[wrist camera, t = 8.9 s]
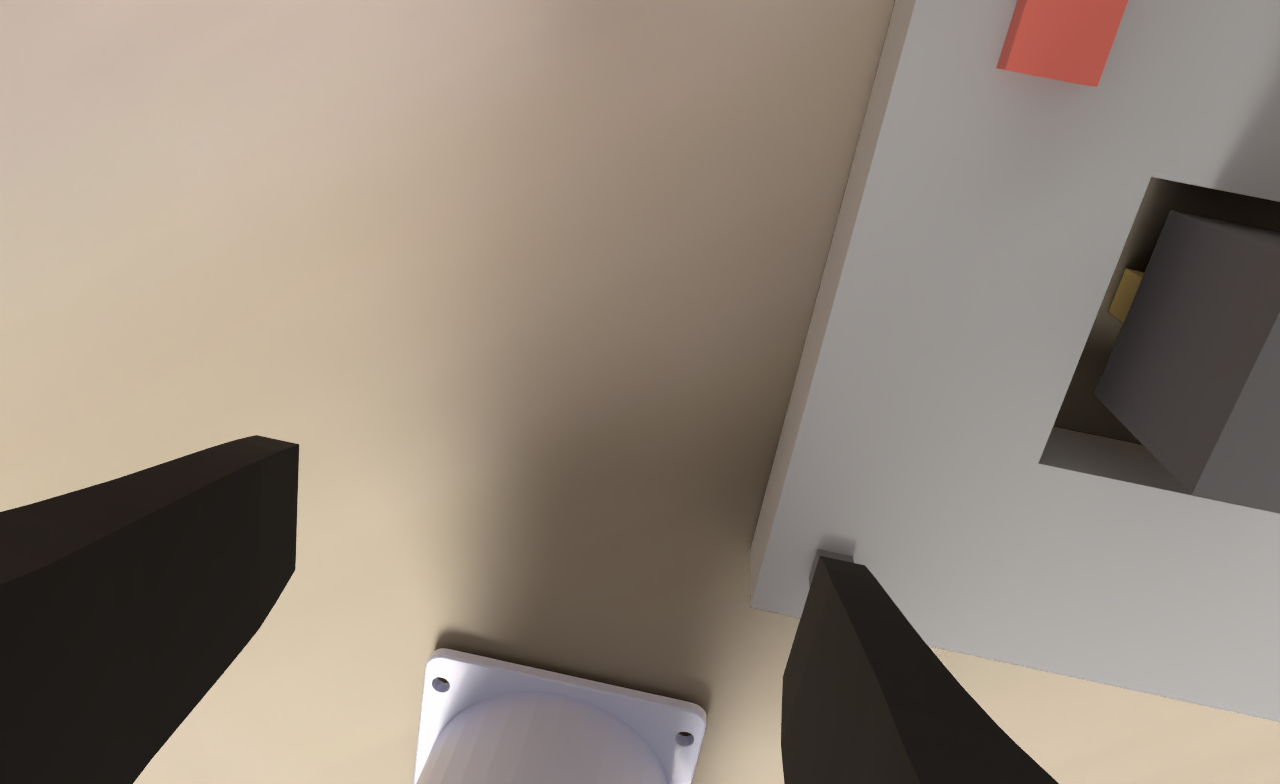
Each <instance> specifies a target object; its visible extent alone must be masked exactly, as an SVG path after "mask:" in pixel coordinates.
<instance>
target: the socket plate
mask: <svg viewBox="0 0 1280 784" xmlns="http://www.w3.org/2000/svg"><path fill="white" fill-rule="evenodd" d="M1151 177H1155V178H1160V179H1165V180H1170V181H1175V182H1181V183H1186V184H1191V185H1196V186H1201V187H1206V188H1211V189H1216V190H1222V191H1227V192H1232V193H1237V194H1242V195H1247V196H1252V197H1258V198H1263V199H1268V200H1273V201H1278V202H1280V0H895V4H894V8H893V12H892V15H891V19H890V23H889V27H888V31H887V34H886V38H885V42H884V46H883V50H882V53H881V57H880V61H879V65H878V68H877V72H876V76H875V80H874V84H873V87H872V91H871V95H870V99H869V102H868V106H867V110H866V114H865V118H864V121H863V125H862V129H861V133H860V137H859V140H858V144H857V148H856V152H855V155H854V159H853V163H852V167H851V171H850V174H849V178H848V182H847V186H846V189H845V193H844V197H843V201H842V205H841V208H840V212H839V216H838V220H837V224H836V227H835V231H834V235H833V239H832V242H831V246H830V250H829V254H828V258H827V261H826V265H825V269H824V273H823V276H822V280H821V284H820V288H819V292H818V295H817V299H816V303H815V307H814V311H813V314H812V318H811V322H810V326H809V329H808V333H807V337H806V341H805V345H804V348H803V352H802V356H801V360H800V363H799V367H798V371H797V375H796V379H795V382H794V386H793V390H792V394H791V397H790V401H789V405H788V409H787V413H786V416H785V420H784V424H783V428H782V432H781V435H780V439H779V443H778V447H777V450H776V454H775V458H774V462H773V466H772V469H771V473H770V477H769V481H768V484H767V488H766V492H765V496H764V500H763V503H762V507H761V511H760V515H759V519H758V522H757V526H756V530H755V534H754V537H753V541H752V545H751V549H750V608H754V609H759V610H764V611H768V612H773V613H778V614H782V615H787V616H791V617H796V618H801V616H802V612H803V609H804V606H805V602H806V599H807V596H808V592H809V589H810V586H811V582H812V579H813V576H814V572H815V569H816V566H817V563H818V559H819V556H824V557H829V558H833V559H838V560H843V561H847V562H852V563H857V564H861V565H865V566H866V567H867V568H868V569H869V571H870V572H871V573H872V574H873V576H874V577H875V578H876V579H877V581H878V582H879V583H880V585H881V586H882V587H883V588H884V590H885V591H886V592H887V594H888V595H889V596H890V598H891V599H892V600H893V602H894V603H895V604H896V606H897V607H898V608H899V609H900V611H901V612H902V613H903V615H904V616H905V617H906V619H907V620H908V621H909V623H910V624H911V625H912V626H913V628H914V629H915V630H916V631H917V633H918V634H919V635H920V637H921V638H922V639H923V640H924V642H925V643H926V644H927V645H928V646H930V647H935V648H939V649H944V650H949V651H953V652H958V653H962V654H967V655H972V656H976V657H981V658H986V659H990V660H995V661H999V662H1004V663H1009V664H1013V665H1018V666H1023V667H1027V668H1032V669H1036V670H1041V671H1046V672H1050V673H1055V674H1060V675H1064V676H1069V677H1073V678H1078V679H1083V680H1087V681H1092V682H1097V683H1101V684H1106V685H1110V686H1115V687H1120V688H1124V689H1129V690H1134V691H1138V692H1143V693H1147V694H1152V695H1157V696H1161V697H1166V698H1171V699H1175V700H1180V701H1184V702H1189V703H1194V704H1198V705H1203V706H1207V707H1212V708H1217V709H1221V710H1226V711H1231V712H1235V713H1240V714H1244V715H1249V716H1254V717H1258V718H1263V719H1268V720H1272V721H1277V722H1280V513H1276V512H1271V511H1266V510H1262V509H1257V508H1252V507H1248V506H1243V505H1238V504H1233V503H1229V502H1224V501H1219V500H1215V499H1210V498H1205V497H1200V496H1196V495H1192V494H1191V493H1190V492H1189V491H1188V490H1187V489H1186V488H1185V487H1184V486H1183V485H1182V484H1181V483H1180V482H1179V481H1178V480H1177V479H1176V478H1175V477H1174V476H1173V475H1172V474H1171V473H1170V472H1169V471H1168V470H1167V469H1166V468H1165V467H1164V466H1163V465H1162V464H1161V463H1160V462H1159V461H1158V460H1157V459H1156V458H1155V457H1154V456H1153V455H1152V454H1151V453H1150V452H1149V450H1148V449H1147V448H1146V447H1145V446H1144V445H1141V444H1136V443H1131V442H1126V441H1121V440H1116V439H1112V438H1107V437H1102V436H1097V435H1092V434H1087V433H1082V432H1078V431H1073V430H1068V429H1063V428H1058V427H1053V425H1054V423H1055V420H1056V418H1057V415H1058V413H1059V410H1060V407H1061V405H1062V402H1063V400H1064V397H1065V395H1066V392H1067V390H1068V387H1069V385H1070V382H1071V380H1072V377H1073V374H1074V372H1075V369H1076V367H1077V364H1078V362H1079V359H1080V357H1081V354H1082V352H1083V349H1084V347H1085V344H1086V341H1087V339H1088V336H1089V334H1090V331H1091V329H1092V326H1093V324H1094V321H1095V319H1096V316H1097V314H1098V311H1099V309H1100V306H1101V303H1102V301H1103V298H1104V296H1105V293H1106V291H1107V288H1108V286H1109V283H1110V281H1111V278H1112V276H1113V273H1114V270H1115V268H1116V265H1117V263H1118V260H1119V258H1120V255H1121V253H1122V250H1123V248H1124V245H1125V243H1126V240H1127V237H1128V235H1129V232H1130V230H1131V227H1132V225H1133V222H1134V220H1135V217H1136V215H1137V212H1138V210H1139V207H1140V204H1141V202H1142V199H1143V197H1144V194H1145V192H1146V189H1147V187H1148V184H1149V182H1150V179H1151Z"/></svg>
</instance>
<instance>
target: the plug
mask: <svg viewBox="0 0 1280 784" xmlns="http://www.w3.org/2000/svg"><path fill="white" fill-rule="evenodd" d="M1108 312H1109V313H1111V314H1112V315H1113V316H1115V317H1116V318H1117V319H1119V320H1120V321H1121V322H1123V326H1122V328H1121V331H1120V333H1119V336H1118V338H1117V340H1116V343H1115V345H1114V348H1113V350H1112V352H1111V355H1110V357H1109V360H1108V362H1107V365H1106V367H1105V369H1104V372H1103V374H1102V377H1101V379H1100V382H1099V384H1098V386H1097V389H1096V391H1095V394H1094V395H1095V396H1096V397H1097V398H1098V399H1099V400H1100V401H1101V402H1102V404H1103V405H1104V406H1105V407H1106V408H1107V409H1108V410H1109V411H1110V412H1111V413H1112V414H1113V415H1114V416H1115V417H1116V418H1117V419H1118V420H1119V421H1120V422H1121V423H1122V424H1123V425H1124V426H1125V427H1126V428H1127V429H1128V430H1129V431H1130V432H1131V433H1132V434H1133V435H1134V436H1135V437H1136V438H1137V439H1138V440H1139V441H1140V442H1141V443H1142V444H1143V445H1144V446H1145V447H1146V448H1147V449H1148V450H1149V452H1150V453H1151V454H1152V455H1153V456H1154V457H1155V458H1156V459H1157V460H1158V461H1159V462H1160V463H1161V464H1162V465H1163V466H1164V467H1165V468H1166V469H1167V470H1168V471H1169V472H1170V473H1171V474H1172V475H1173V476H1174V477H1175V478H1176V479H1177V480H1178V481H1179V482H1180V483H1181V484H1182V485H1183V486H1184V487H1185V488H1186V489H1187V490H1188V491H1189V492H1190V493H1191V494H1192V495H1196V496H1200V497H1205V498H1210V499H1215V500H1219V501H1224V502H1229V503H1233V504H1238V505H1243V506H1248V507H1252V508H1257V509H1262V510H1266V511H1271V512H1276V513H1280V232H1277V231H1272V230H1267V229H1262V228H1257V227H1252V226H1247V225H1242V224H1237V223H1232V222H1227V221H1222V220H1217V219H1212V218H1207V217H1202V216H1197V215H1192V214H1187V213H1182V212H1177V211H1172V210H1170V212H1169V215H1168V217H1167V219H1166V222H1165V224H1164V227H1163V229H1162V231H1161V234H1160V236H1159V239H1158V241H1157V244H1156V246H1155V248H1154V251H1153V253H1152V256H1151V258H1150V260H1149V263H1148V265H1147V268H1146V270H1145V272H1141V271H1136V270H1131V269H1125V271H1124V274H1123V276H1122V279H1121V281H1120V284H1119V286H1118V289H1117V291H1116V294H1115V296H1114V299H1113V301H1112V304H1111V306H1110V309H1109V311H1108Z"/></svg>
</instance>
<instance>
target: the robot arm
mask: <svg viewBox="0 0 1280 784" xmlns="http://www.w3.org/2000/svg"><path fill="white" fill-rule="evenodd" d="M298 463H299V444H295V443H290V442H285V441H281V440H276V439H271V438H266V437H262V436H257V435H256V436H251V437H246V438H242V439H238V440H234V441H231V442H228V443H224V444H221V445H218V446H214V447H211V448H208V449H205V450H202V451H199V452H196V453H193V454H190V455H187V456H184V457H181V458H178V459H175V460H172V461H169V462H166V463H163V464H160V465H157V466H154V467H151V468H148V469H145V470H142V471H139V472H136V473H133V474H130V475H127V476H124V477H121V478H118V479H114V480H111V481H108V482H105V483H101V484H98V485H94V486H91V487H88V488H84V489H81V490H78V491H74V492H71V493H67V494H64V495H61V496H57V497H54V498H50V499H47V500H44V501H40V502H37V503H34V504H30V505H26V506H22V507H19V508H15V509H11V510H7V511H3V512H0V784H133V783H134V781H135V780H136V779H137V777H138V776H139V775H140V773H141V772H142V771H143V770H144V768H145V767H146V766H147V764H148V763H149V762H150V760H151V759H152V758H153V757H154V755H155V754H156V753H157V752H158V751H159V749H160V748H161V747H162V746H163V745H164V743H165V742H166V741H167V740H168V739H169V737H170V736H171V735H172V734H173V733H174V731H175V730H176V729H177V728H178V727H179V725H180V724H181V723H182V722H183V721H184V719H185V718H186V717H187V716H188V715H189V713H190V712H191V711H192V710H193V709H194V707H195V706H196V705H197V704H198V703H199V702H200V700H201V699H202V698H203V697H204V696H205V694H206V693H207V692H208V691H209V690H210V688H211V687H212V686H213V685H214V684H215V682H216V681H217V680H218V679H219V678H220V676H221V675H222V674H223V673H224V671H225V670H226V669H227V668H228V667H229V665H230V664H231V663H232V662H233V660H234V659H235V658H236V657H237V656H238V654H239V653H240V652H241V651H242V649H243V648H244V647H245V646H246V645H247V643H248V642H249V641H250V640H251V638H252V637H253V636H254V635H255V633H256V632H257V631H258V629H259V628H260V627H261V625H262V623H263V622H264V620H265V619H266V617H267V616H268V614H269V612H270V611H271V609H272V608H273V606H274V605H275V603H276V601H277V600H278V598H279V596H280V595H281V593H282V591H283V590H284V588H285V586H286V584H287V583H288V581H289V579H290V578H291V576H292V574H293V573H294V571H295V561H296V528H297V495H298ZM437 677H442V678H444V679H446V680H447V681H448V682H449V683H443V682H441V681H440V680H439V679H438V678H437ZM705 730H706V713H705V711H704V709H703V708H701V707H700V706H699V705H697V704H694V703H692V702H687V701H682V700H678V699H673V698H669V697H664V696H660V695H655V694H651V693H646V692H642V691H637V690H633V689H628V688H624V687H619V686H615V685H610V684H605V683H601V682H596V681H592V680H587V679H583V678H578V677H574V676H569V675H565V674H560V673H556V672H551V671H547V670H542V669H538V668H533V667H529V666H524V665H519V664H515V663H510V662H506V661H501V660H497V659H492V658H488V657H483V656H479V655H474V654H470V653H465V652H461V651H456V650H452V649H444V648H441V649H437V650H435V651H434V652H433V653H432V654H431V655H430V657H429V659H428V661H427V664H426V667H425V677H424V686H423V696H422V705H421V715H420V724H419V734H418V743H417V753H416V762H415V772H414V781H413V784H691V782H692V779H693V775H694V771H695V767H696V764H697V760H698V756H699V752H700V749H701V745H702V741H703V737H704V734H705ZM680 732H688V733H690V734H692V735H690V736H682V735H680V734H679V733H680ZM781 749H782V761H783V771H784V782H785V784H1059V783H1058V782H1056V781H1055V780H1054V779H1053V778H1052V777H1051V776H1050V775H1049V774H1048V773H1047V772H1046V771H1045V770H1044V769H1043V768H1041V767H1040V766H1039V765H1038V764H1037V763H1036V762H1035V761H1034V760H1033V759H1032V758H1031V757H1030V756H1029V755H1028V754H1027V753H1025V752H1024V751H1023V750H1022V749H1021V748H1020V747H1019V746H1018V745H1017V744H1016V743H1015V742H1014V741H1013V740H1012V739H1011V738H1010V737H1009V736H1008V735H1007V734H1006V733H1005V732H1004V731H1003V730H1002V729H1001V728H1000V727H999V726H998V725H997V724H996V723H995V722H994V721H993V720H992V719H991V718H990V717H989V715H988V714H987V713H986V712H985V711H984V710H983V709H982V708H981V707H980V706H979V705H978V703H977V702H976V701H975V700H974V699H973V698H972V697H971V696H970V695H969V694H968V693H967V691H966V690H965V689H964V688H963V687H962V686H961V685H960V684H959V682H958V681H957V680H956V679H955V678H954V677H953V675H952V674H951V673H950V672H949V671H948V670H947V668H946V667H945V666H944V665H943V664H942V662H941V661H940V660H939V659H938V658H937V656H936V655H935V654H934V653H933V652H932V650H931V649H930V648H929V647H928V645H927V644H926V643H925V642H924V640H923V639H922V638H921V637H920V635H919V634H918V633H917V631H916V630H915V629H914V628H913V626H912V625H911V624H910V623H909V621H908V620H907V619H906V617H905V616H904V615H903V613H902V612H901V611H900V609H899V608H898V607H897V606H896V604H895V603H894V602H893V600H892V599H891V598H890V596H889V595H888V594H887V592H886V591H885V590H884V588H883V587H882V586H881V585H880V583H879V582H878V581H877V579H876V578H875V577H874V576H873V574H872V573H871V572H870V571H869V569H868V568H867V567H866V566H865V565H861V564H857V563H852V562H847V561H843V560H838V559H833V558H829V557H824V556H819V559H818V563H817V566H816V569H815V572H814V576H813V579H812V582H811V586H810V589H809V592H808V596H807V599H806V602H805V606H804V609H803V612H802V616H801V619H800V622H799V626H798V629H797V632H796V635H795V639H794V642H793V645H792V649H791V652H790V655H789V659H788V662H787V665H786V669H785V672H784V675H783V693H782V723H781Z"/></svg>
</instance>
